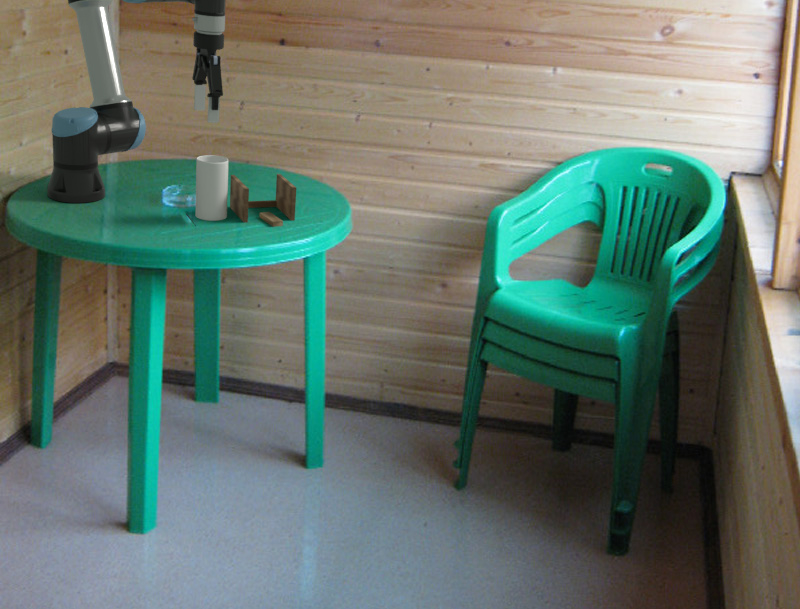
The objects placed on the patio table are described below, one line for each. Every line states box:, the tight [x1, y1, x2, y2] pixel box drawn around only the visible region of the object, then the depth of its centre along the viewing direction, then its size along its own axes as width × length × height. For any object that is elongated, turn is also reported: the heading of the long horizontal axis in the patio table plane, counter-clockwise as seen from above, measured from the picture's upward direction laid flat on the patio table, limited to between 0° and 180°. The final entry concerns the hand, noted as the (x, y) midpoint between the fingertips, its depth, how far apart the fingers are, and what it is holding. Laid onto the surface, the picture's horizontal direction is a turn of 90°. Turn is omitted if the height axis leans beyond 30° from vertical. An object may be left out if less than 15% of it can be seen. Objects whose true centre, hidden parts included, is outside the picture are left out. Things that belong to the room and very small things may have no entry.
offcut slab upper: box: [259, 211, 284, 228], centre depth 280 cm, size 3×9×2 cm, turn 31°
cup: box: [195, 154, 229, 222], centre depth 278 cm, size 8×8×16 cm
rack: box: [229, 173, 297, 224], centre depth 285 cm, size 14×14×10 cm
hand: (206, 116), depth 271 cm, fingers open, 13 cm apart
